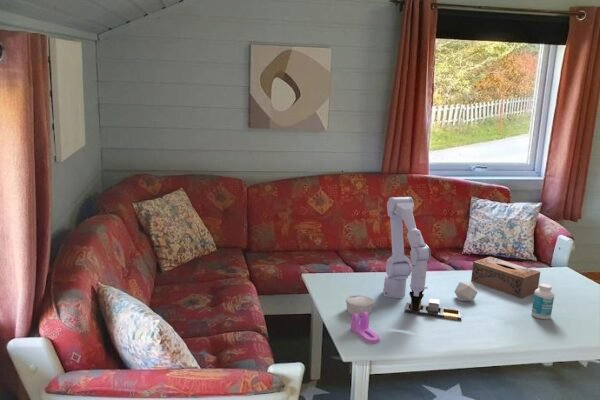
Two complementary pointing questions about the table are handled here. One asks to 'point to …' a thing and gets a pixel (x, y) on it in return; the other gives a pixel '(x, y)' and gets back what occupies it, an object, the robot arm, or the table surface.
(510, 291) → the tissue box cover
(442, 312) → the rail
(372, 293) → the table surface
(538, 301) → the pill bottle
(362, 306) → the ramekin
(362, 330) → the bracket
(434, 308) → the matte gray cube
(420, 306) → the light wood cube
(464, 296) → the die
